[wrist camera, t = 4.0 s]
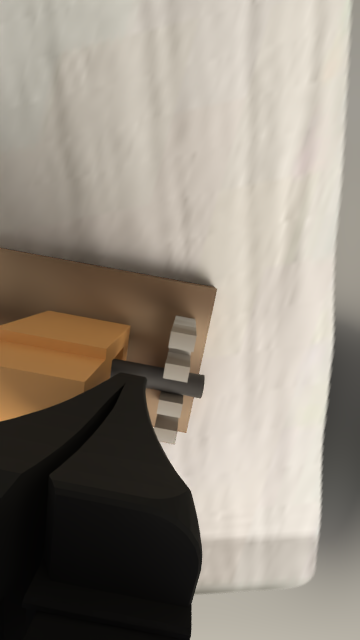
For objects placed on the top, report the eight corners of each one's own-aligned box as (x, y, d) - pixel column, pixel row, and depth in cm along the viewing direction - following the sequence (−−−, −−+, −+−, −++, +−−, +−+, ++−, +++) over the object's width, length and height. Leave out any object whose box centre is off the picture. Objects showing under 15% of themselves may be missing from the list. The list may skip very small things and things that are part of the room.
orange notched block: (122, 385, 15) (77, 463, 9) (46, 370, 15) (-50, 439, 9) (130, 325, 14) (86, 368, 8) (48, 310, 14) (-56, 342, 8)
